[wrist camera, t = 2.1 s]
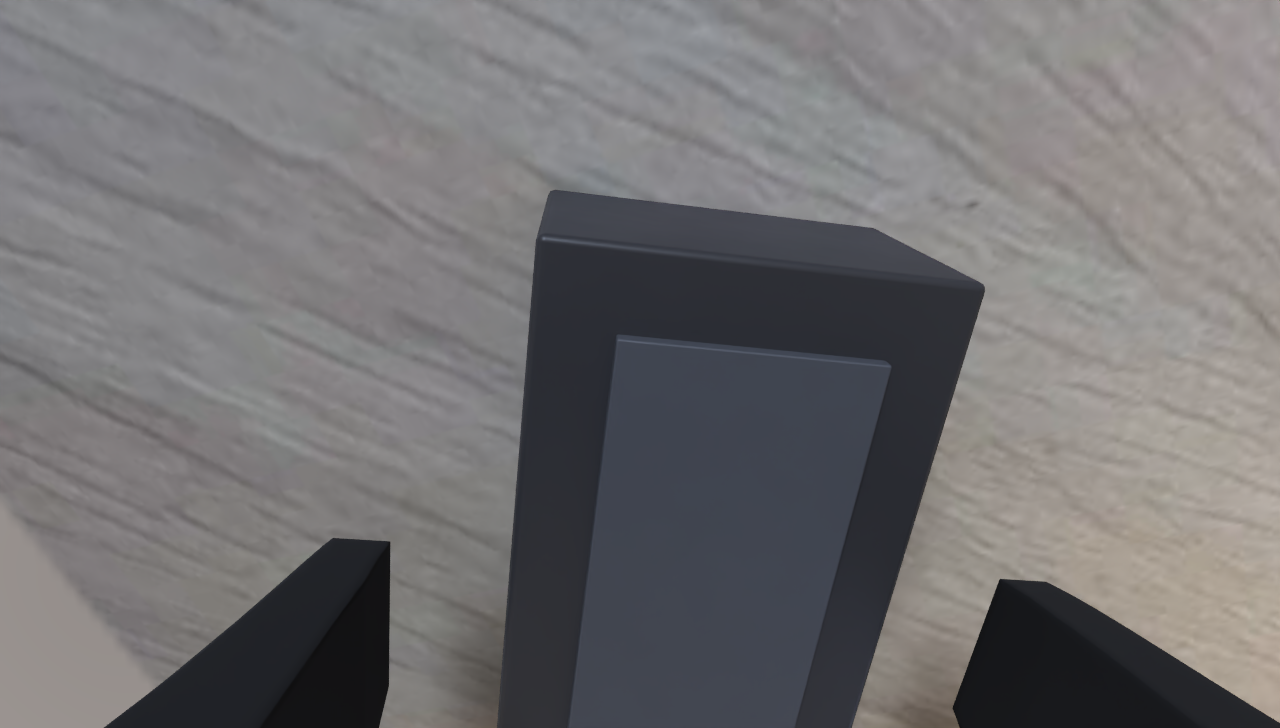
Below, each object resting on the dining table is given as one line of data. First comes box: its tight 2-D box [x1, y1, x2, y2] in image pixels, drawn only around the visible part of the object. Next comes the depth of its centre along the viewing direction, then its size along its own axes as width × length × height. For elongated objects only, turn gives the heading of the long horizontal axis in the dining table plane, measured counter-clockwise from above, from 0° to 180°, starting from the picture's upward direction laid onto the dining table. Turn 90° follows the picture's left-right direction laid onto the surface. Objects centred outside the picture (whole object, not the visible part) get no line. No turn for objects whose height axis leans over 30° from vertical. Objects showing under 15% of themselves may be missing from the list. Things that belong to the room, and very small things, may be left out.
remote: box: [497, 190, 985, 728], centre depth 10 cm, size 9×4×3 cm, turn 173°
